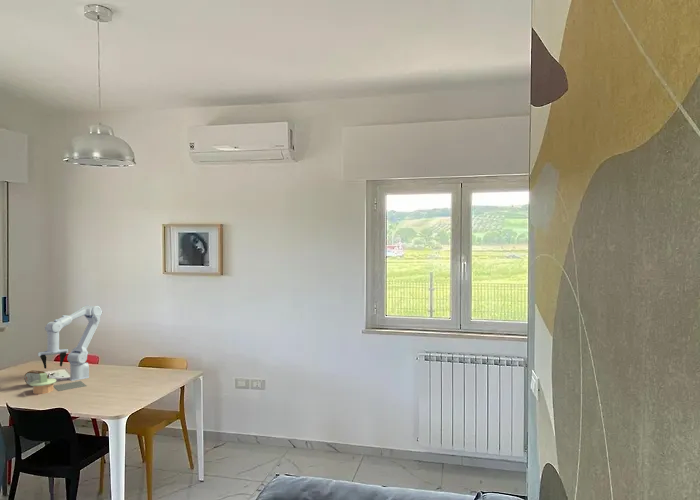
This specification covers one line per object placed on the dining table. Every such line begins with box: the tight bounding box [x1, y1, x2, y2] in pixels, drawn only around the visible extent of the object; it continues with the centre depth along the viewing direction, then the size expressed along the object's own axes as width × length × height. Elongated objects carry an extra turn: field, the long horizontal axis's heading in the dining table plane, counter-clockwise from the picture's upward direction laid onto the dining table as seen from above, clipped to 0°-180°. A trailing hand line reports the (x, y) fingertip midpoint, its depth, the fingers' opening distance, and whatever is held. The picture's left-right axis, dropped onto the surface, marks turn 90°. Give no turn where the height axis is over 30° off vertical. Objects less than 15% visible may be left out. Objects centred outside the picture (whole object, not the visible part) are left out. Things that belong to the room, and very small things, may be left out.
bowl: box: [32, 383, 54, 395], centre depth 258 cm, size 9×9×5 cm
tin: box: [24, 370, 49, 386], centre depth 270 cm, size 15×3×8 cm, turn 74°
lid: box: [29, 372, 57, 387], centre depth 258 cm, size 12×12×5 cm
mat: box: [53, 380, 87, 392], centre depth 268 cm, size 14×14×1 cm
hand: (53, 367), depth 270 cm, fingers open, 7 cm apart
